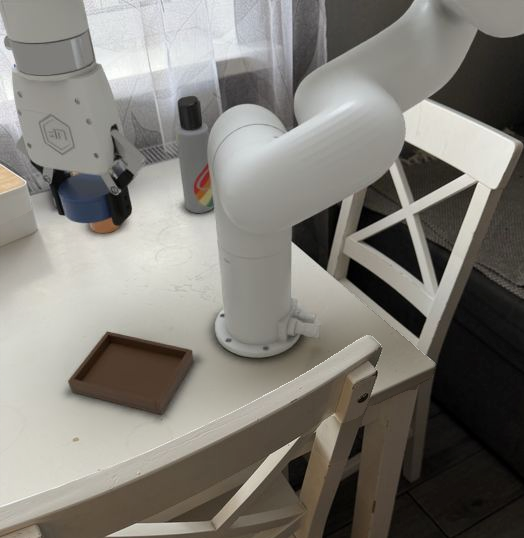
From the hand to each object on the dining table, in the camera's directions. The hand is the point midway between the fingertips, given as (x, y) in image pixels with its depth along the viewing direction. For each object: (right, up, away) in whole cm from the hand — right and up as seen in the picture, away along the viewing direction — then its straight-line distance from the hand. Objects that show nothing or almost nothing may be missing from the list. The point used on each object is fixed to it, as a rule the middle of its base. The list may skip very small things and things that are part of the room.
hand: (95, 213), depth 70 cm
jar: (-9, +7, +39) cm, 41 cm away
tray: (+2, -20, +11) cm, 22 cm away
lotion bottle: (+8, +11, +43) cm, 45 cm away
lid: (0, 0, -1) cm, 1 cm away
